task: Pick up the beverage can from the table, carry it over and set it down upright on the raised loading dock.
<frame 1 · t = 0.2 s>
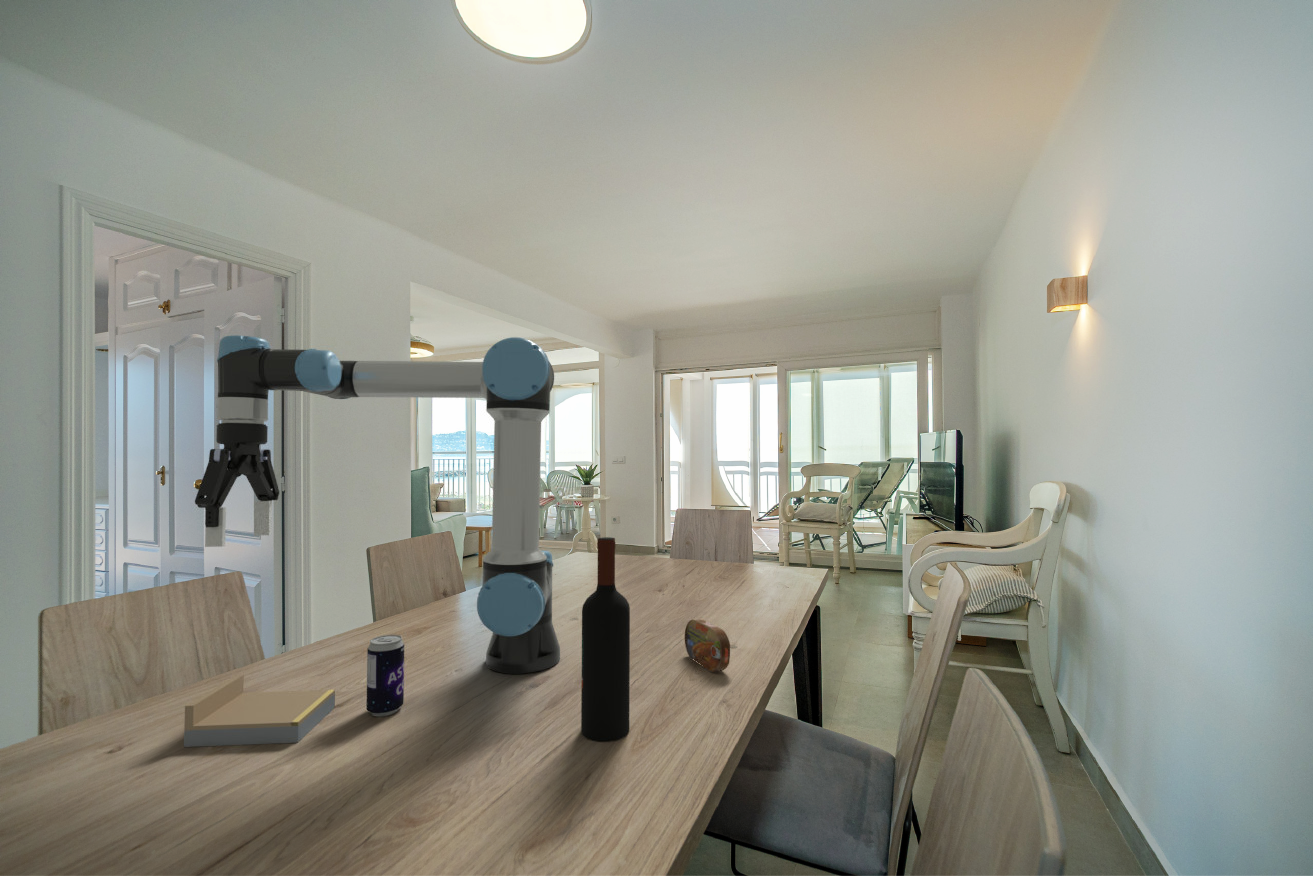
hand: (240, 540, 105), 28 cm above the table, fingers open, 13 cm apart
tin: (706, 665, 120), on the table
beverage can: (385, 712, 98), on the table
wine bottle: (605, 731, 91), on the table
dock: (264, 725, 92), on the table
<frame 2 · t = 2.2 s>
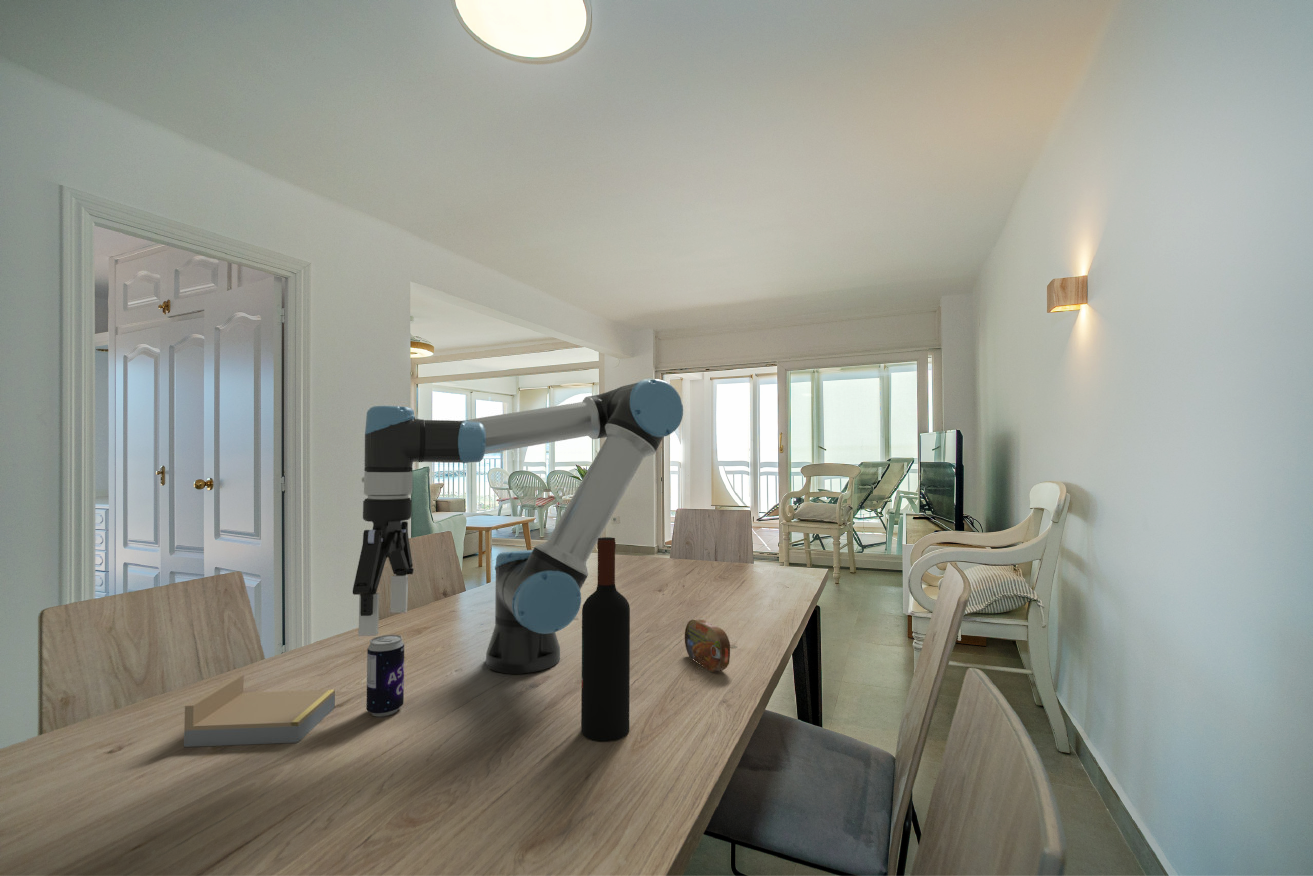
hand: (384, 623, 98), 15 cm above the table, fingers open, 13 cm apart
nothing on the table moved.
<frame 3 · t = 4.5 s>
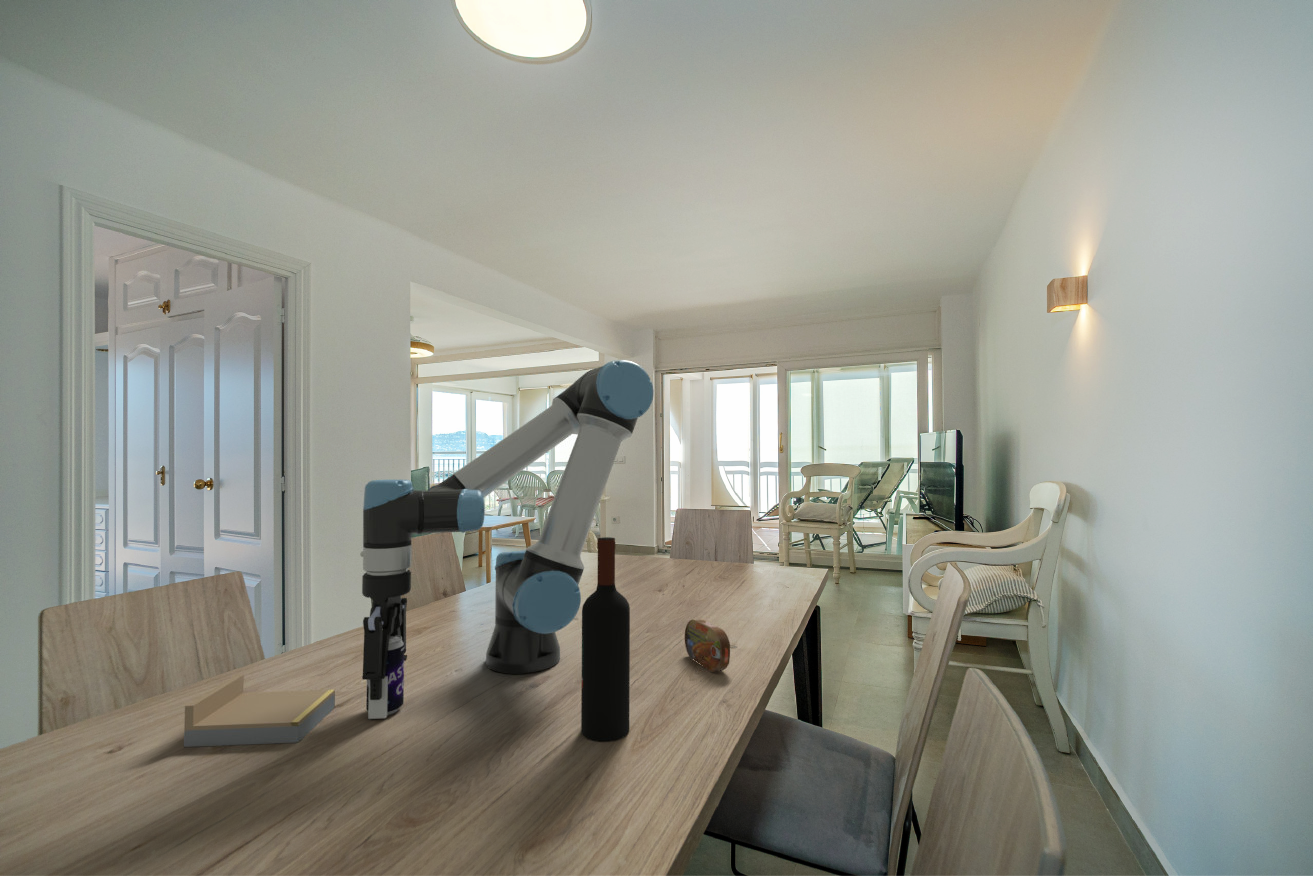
hand: (385, 708, 98), 0 cm above the table, fingers closed on beverage can, 6 cm apart
beverage can: (385, 712, 98), on the table, touching gripper
everything else where it was.
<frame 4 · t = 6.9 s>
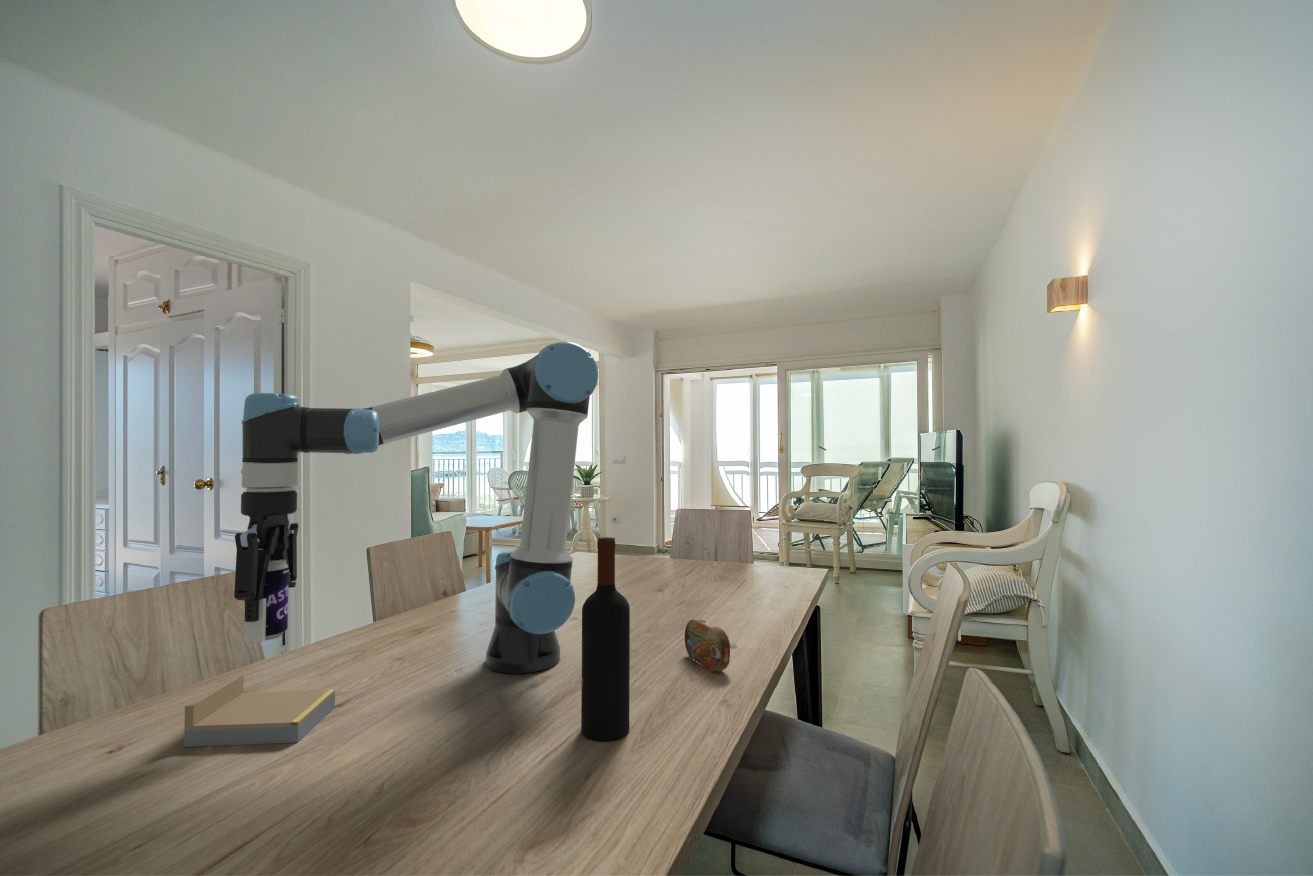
hand: (266, 634, 93), 14 cm above the table, fingers closed on beverage can, 6 cm apart
beverage can: (266, 638, 93), point 14 cm above the table, touching gripper
everything else where it was.
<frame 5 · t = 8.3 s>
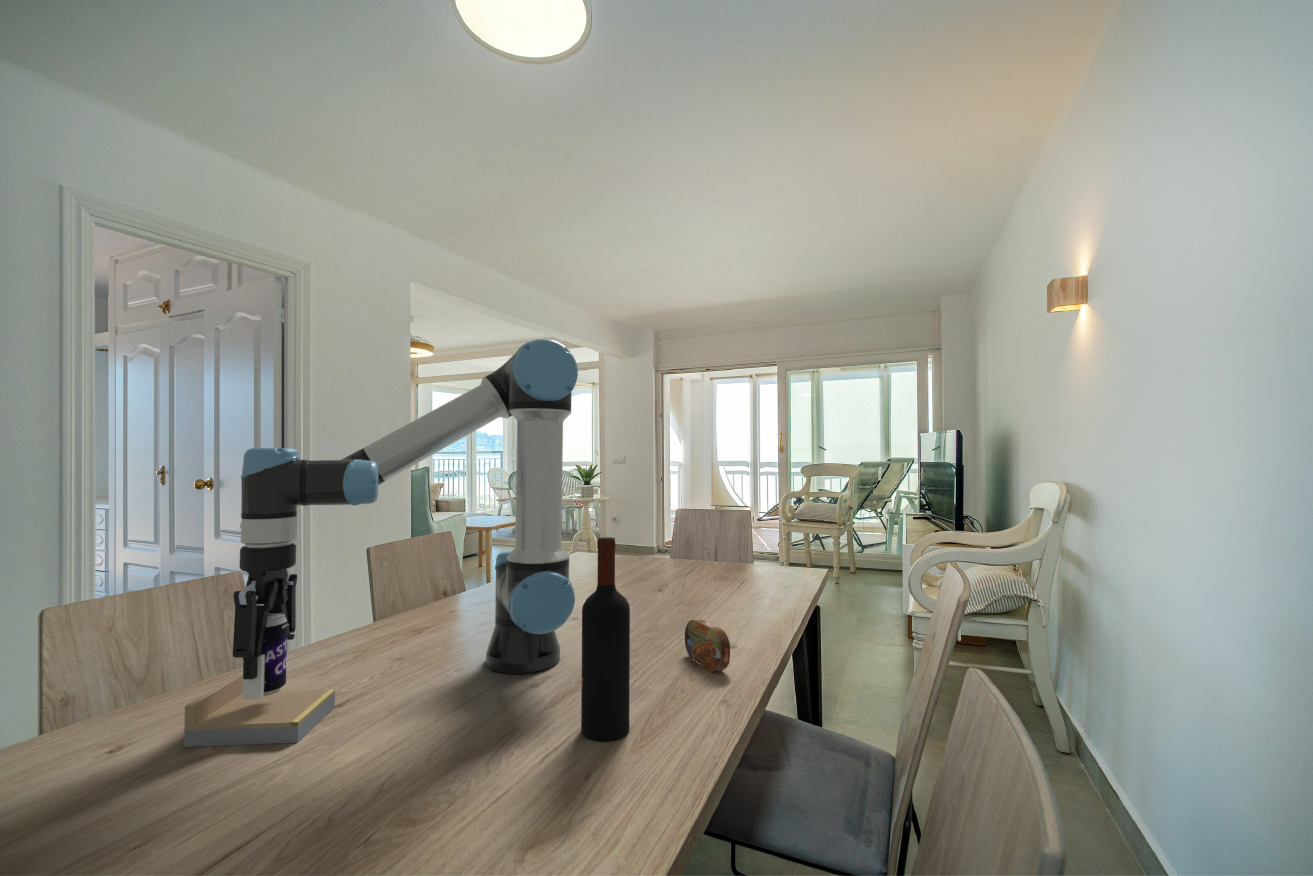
hand: (265, 689, 93), 6 cm above the table, fingers closed on beverage can, 6 cm apart
beverage can: (264, 693, 93), point 5 cm above the table, touching gripper
everything else where it was.
when the fingers open (5 cm above the table, at t = 9.2 s): beverage can drops 1 cm, resting on dock.
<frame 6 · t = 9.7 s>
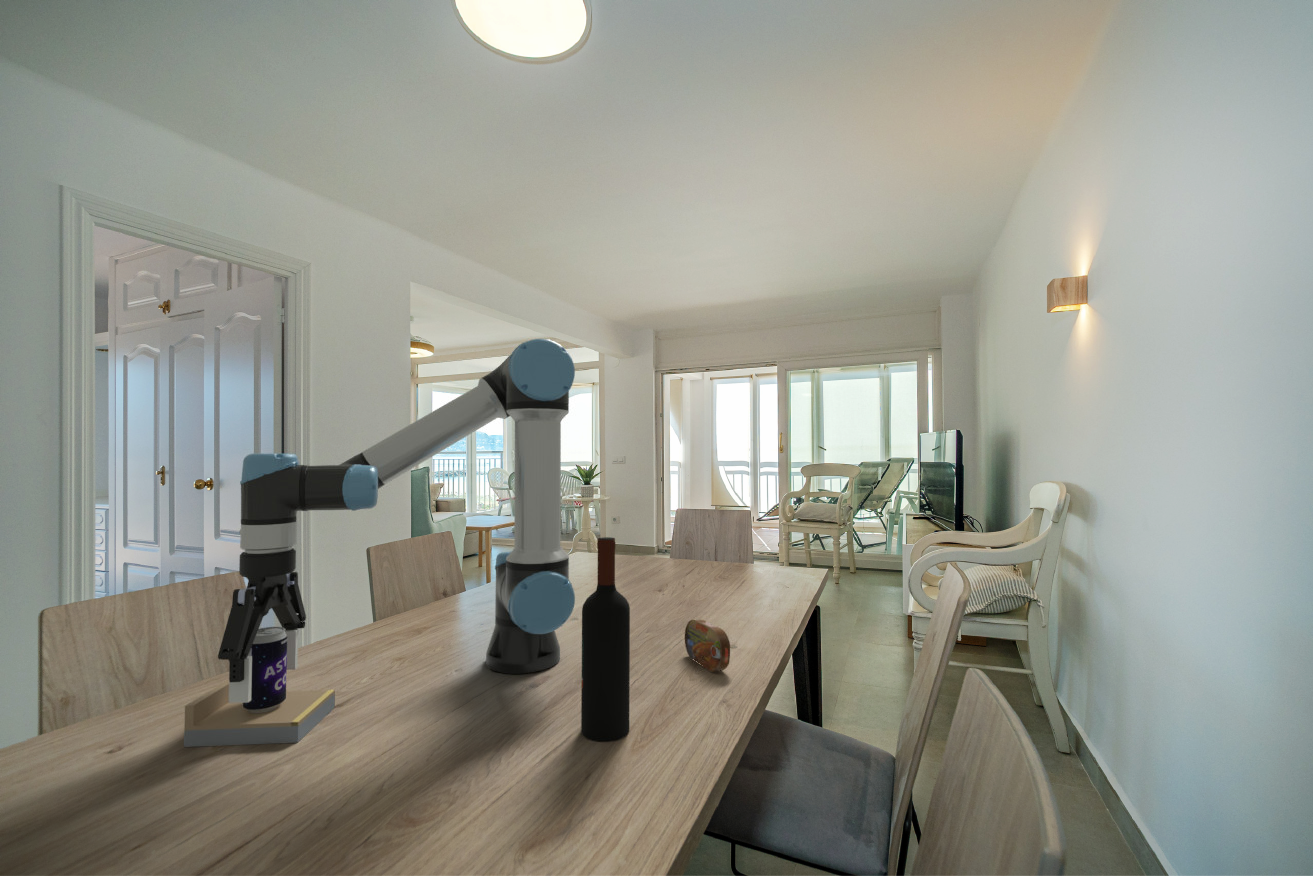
hand: (265, 684, 93), 7 cm above the table, fingers open, 12 cm apart
beverage can: (264, 708, 92), point 3 cm above the table, touching dock
everything else where it was.
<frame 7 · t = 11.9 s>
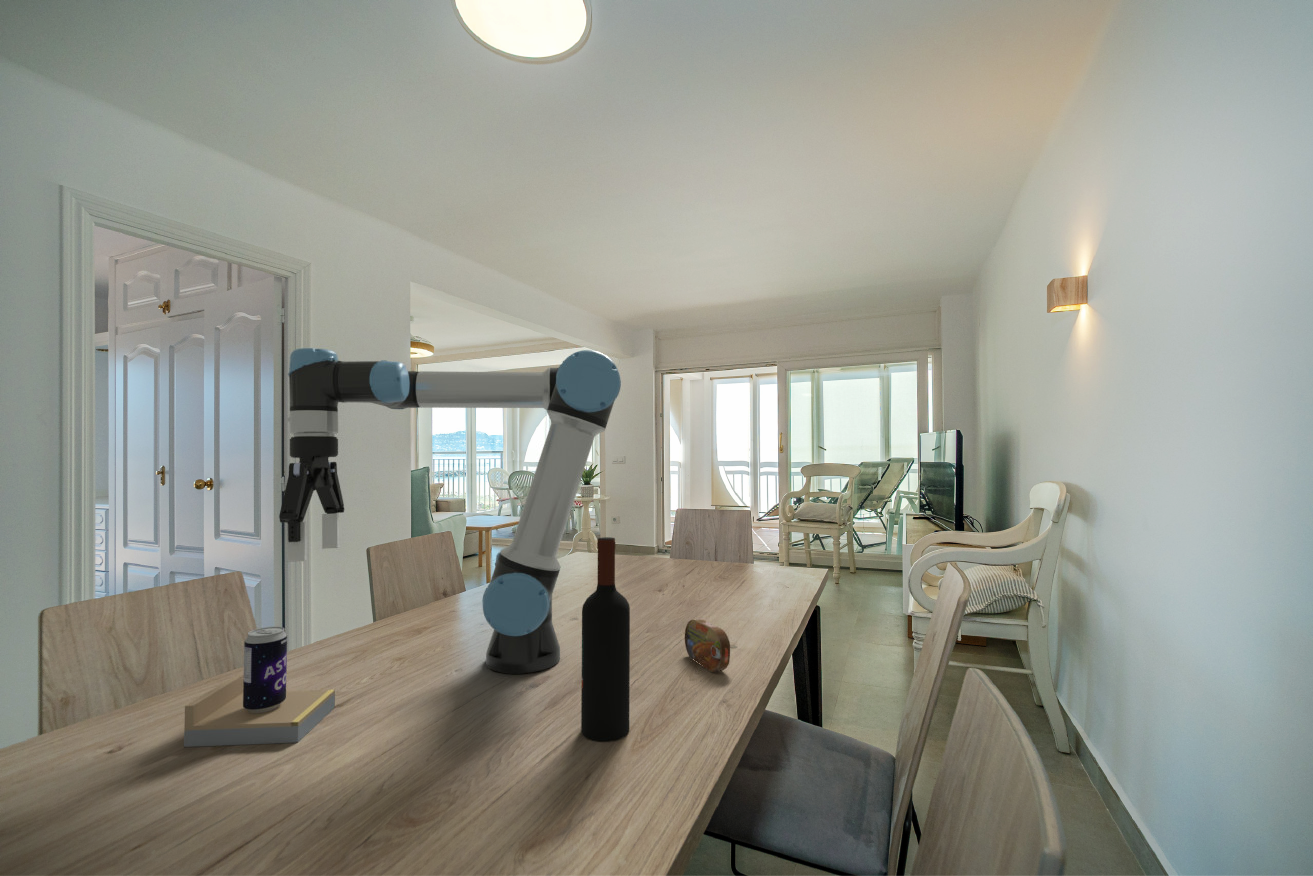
hand: (314, 554, 104), 25 cm above the table, fingers open, 13 cm apart
nothing on the table moved.
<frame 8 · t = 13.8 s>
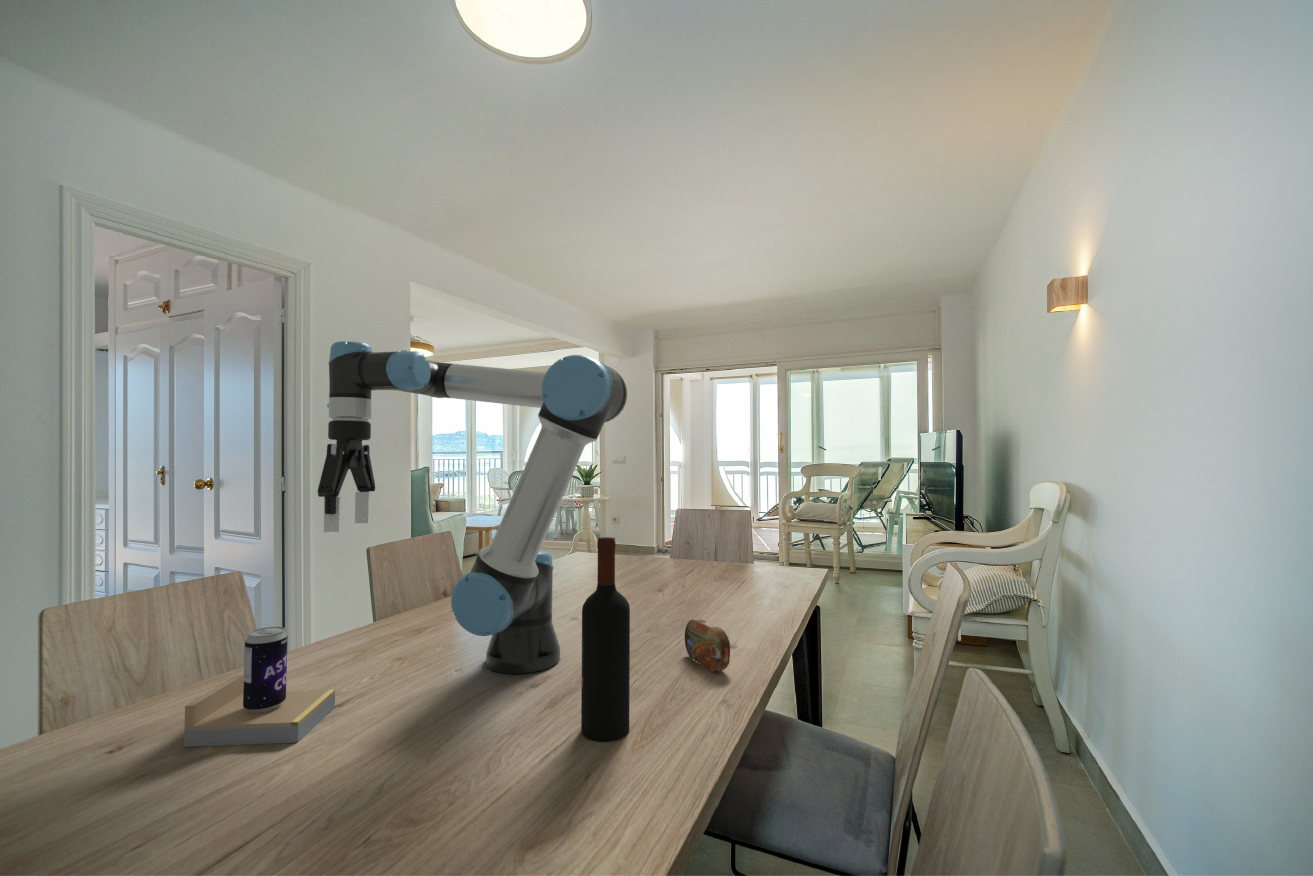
hand: (348, 527, 115), 29 cm above the table, fingers open, 13 cm apart
nothing on the table moved.
at the end: beverage can inside the target area on the dock (0.2 cm from its centre), point 2.8 cm above the dock's base; beverage can tilted 0°; the gripper is holding nothing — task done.
